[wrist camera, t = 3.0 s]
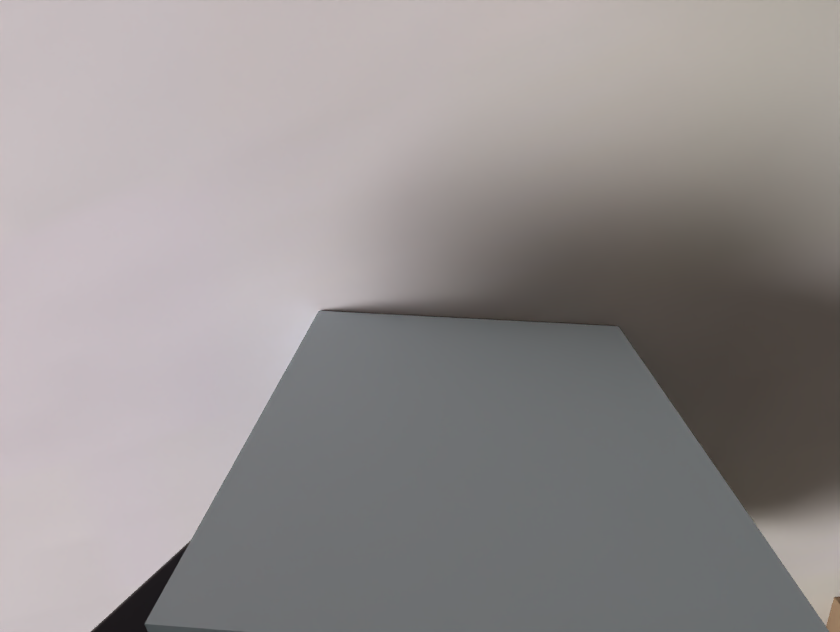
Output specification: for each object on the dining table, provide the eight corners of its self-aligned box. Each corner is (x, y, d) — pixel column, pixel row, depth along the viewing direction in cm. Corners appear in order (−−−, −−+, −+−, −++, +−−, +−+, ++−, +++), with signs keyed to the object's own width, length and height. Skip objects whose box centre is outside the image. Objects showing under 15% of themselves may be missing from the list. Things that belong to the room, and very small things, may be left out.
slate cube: (564, 529, 10) (660, 896, 5) (335, 513, 10) (246, 858, 6) (618, 326, 8) (861, 678, 3) (318, 310, 8) (144, 623, 3)
